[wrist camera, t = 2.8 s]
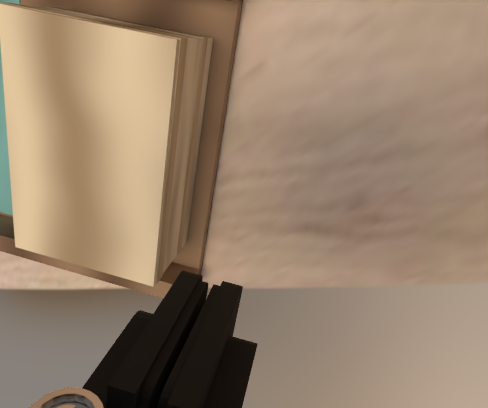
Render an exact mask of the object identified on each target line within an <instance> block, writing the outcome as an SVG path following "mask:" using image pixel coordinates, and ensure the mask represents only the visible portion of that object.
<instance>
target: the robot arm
mask: <svg viewBox="0 0 488 408" xmlns="http://www.w3.org/2000/svg"><path fill="white" fill-rule="evenodd" d="M242 288H243V287H242V286H239V285H235V284H232V283H228V282H224V281H223V282H222V284H221V286H218V285H213V287H212V289H211V291H210V293H209V295H208V297H207V299H206V296H207V290H208V283H207V282H203V281H202V275H198V274H194V273H191V272H187V271H181V272H180V274H179V275H178V277H177V278H176V280H175V282H174V283H173V285H172V286H171V288H170V289H169V291H168V292H167V294H166V295H165V297H164V299H163V300H162V302H161V303H160V305H159V306H158V308H157V309H156V311H155V313H154V314H151V313H147V312H144V311H138V312H137V313H136V314H135V315H134V316H133V318H132V319H131V321H130V322H129V323H128V325H127V326H126V327H125V329H124V330H123V332H122V333H121V334H120V336H119V337H118V339H117V340H116V341H115V343H114V344H113V346H112V347H111V348H110V350H109V351H108V353H107V354H106V355H105V357H104V358H103V360H102V361H101V363H100V364H99V365H98V367H97V368H96V369H95V371H94V372H93V374H92V375H91V376H90V378H89V379H88V381H87V382H86V383H85V385H84V386H83V388H63V389H59V390H55V391H53V392H51V393H48V394H46V395H44V396H43V397H42V398H40V399H39V400H38V401H36V402H35V403H34V404H33V405H32V406H31V407H30V408H242V405H243V401H244V397H245V392H246V389H247V384H248V381H249V376H250V372H251V368H252V364H253V360H254V356H255V352H256V348H257V343H253V342H250V341H246V340H243V339H239V338H236V337H232V336H233V332H234V327H235V322H236V317H237V312H238V308H239V303H240V298H241V293H242Z"/></svg>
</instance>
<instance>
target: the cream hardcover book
mask: <svg viewBox="0 0 488 408" xmlns="http://www.w3.org/2000/svg"><path fill="white" fill-rule="evenodd" d="M212 43H213V38H209V37H204V36H199V35H194V34H189V33H184V32H179V31H174V30H169V29H164V28H159V27H154V26H149V25H144V24H139V23H134V22H129V21H124V20H119V19H114V18H109V17H104V16H99V15H94V14H89V13H84V12H79V11H74V10H68V9H62V8H57V7H48V6H47V8H46V7H34V6H25V5H20V4H15V3H4V2H2V4H0V44H1V58H2V72H3V85H4V99H5V113H6V127H7V140H8V154H9V168H10V182H11V195H12V209H13V223H14V236H15V247H17V248H21V249H24V250H28V251H31V252H34V253H38V254H41V255H45V256H48V257H52V258H55V259H59V260H62V261H66V262H69V263H73V264H76V265H80V266H83V267H87V268H90V269H93V270H97V271H100V272H104V273H107V274H111V275H114V276H118V277H121V278H125V279H128V280H132V281H135V282H139V283H142V284H146V285H149V286H152V287H153V286H154V285H155V284H156V285H157V283H158V282H159V281H160V279H161V278H162V276H163V273H164V272H165V270H166V269H167V268H168V266H169V265H170V264H171V262H172V261H173V260H174V258H175V257H177V256H178V255H179V253H180V252H181V249H182V248H183V246H184V245H185V244H186V242H187V235H188V227H189V220H190V212H191V204H192V197H193V189H194V181H195V174H196V166H197V158H198V151H199V143H200V135H201V128H202V120H203V112H204V105H205V97H206V89H207V82H208V74H209V66H210V59H211V51H212Z"/></svg>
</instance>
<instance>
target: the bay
mask: <svg viewBox="0 0 488 408" xmlns="http://www.w3.org/2000/svg"><path fill="white" fill-rule="evenodd" d="M2 2H4V3H15V4H20V5H25V6H34V7H46V8H47V6H48V7H57V8H62V9H68V10H74V11H79V12H84V13H89V14H94V15H99V16H104V17H109V18H114V19H119V20H124V21H129V22H134V23H139V24H144V25H149V26H154V27H159V28H164V29H169V30H174V31H179V32H184V33H189V34H194V35H199V36H204V37H209V38H213V43H212V51H211V59H210V66H209V74H208V82H207V89H206V97H205V105H204V112H203V120H202V128H201V135H200V143H199V151H198V158H197V166H196V174H195V181H194V189H193V197H192V204H191V212H190V220H189V227H188V235H187V242H186V244H185V245H184V246H183V248H182V249H181V252H180V253H179V255H178V256H177V257H175V258H174V260H173V261H172V262H171V264H170V265H169V266H168V268H167V269H166V270H165V272H164V273H163V276H162V278H161V279H160V281H159V282H158V283H157V285H156V284H155V285H154V286H153V287H152V286H149V285H146V284H142V283H139V282H135V281H132V280H128V279H125V278H121V277H118V276H114V275H111V274H107V273H104V272H100V271H97V270H93V269H90V268H87V267H83V266H80V265H76V264H73V263H69V262H66V261H62V260H59V259H55V258H52V257H48V256H45V255H41V254H38V253H34V252H31V251H28V250H24V249H21V248H17V247H15V236H14V223H13V209H12V195H11V182H10V168H9V154H8V140H7V127H6V113H5V99H4V85H3V72H2V58H1V44H0V251H3V252H6V253H9V254H13V255H16V256H20V257H23V258H27V259H30V260H33V261H37V262H40V263H44V264H47V265H51V266H54V267H57V268H61V269H64V270H68V271H71V272H75V273H78V274H82V275H85V276H88V277H92V278H95V279H99V280H102V281H106V282H109V283H112V284H116V285H119V286H123V287H126V288H130V289H133V290H137V291H140V292H144V293H147V294H151V295H154V296H157V297H161V298H164V297H165V295H166V294H167V292H168V291H169V289H170V288H171V286H172V285H173V283H174V282H175V280H176V278H177V277H178V275H179V274H180V272H181V271H187V272H191V273H194V274H198V275H201V269H202V263H203V256H204V250H205V243H206V237H207V230H208V224H209V217H210V211H211V204H212V198H213V191H214V184H215V178H216V171H217V165H218V158H219V152H220V145H221V139H222V132H223V126H224V119H225V113H226V106H227V100H228V93H229V87H230V80H231V73H232V67H233V60H234V54H235V47H236V41H237V34H238V28H239V21H240V15H241V8H242V2H243V0H0V4H2Z"/></svg>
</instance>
